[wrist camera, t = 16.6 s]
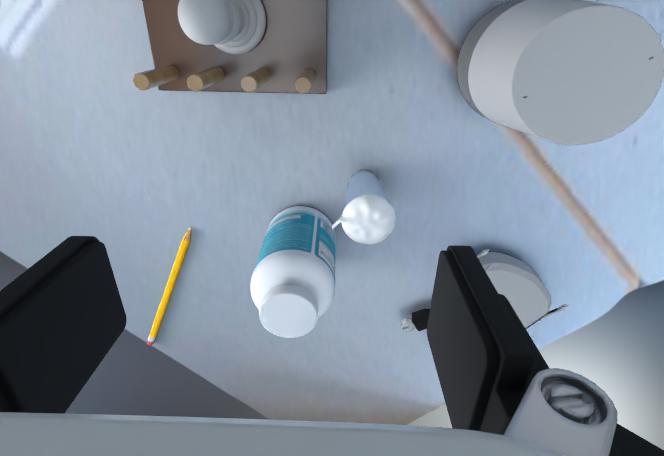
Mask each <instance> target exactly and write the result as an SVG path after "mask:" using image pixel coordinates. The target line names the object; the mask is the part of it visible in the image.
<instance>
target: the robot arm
mask: <svg viewBox="0 0 664 456" xmlns="http://www.w3.org/2000/svg"><path fill="white" fill-rule="evenodd" d="M125 326H126V314H125V311H124V308H123V304H122V301H121V298H120V295H119V291H118V288H117V285H116V281H115V278H114V275H113V271H112V268H111V265H110V261H109V258H108V255H107V251H106V248H105V245H104V244H103V243H102V242H99V240H98V239H97V238H96V237H94V236H71V237H69V238H67V239H66V240H65V241H63V242H62V243H61V244H60V245H58V246H57V247H56V248H54V249H53V250H52V251H51V252H49V253H48V254H47V255H46V256H44V257H43V258H42V259H40V260H39V261H38V262H37V263H35V264H34V265H33V266H32V267H30V268H29V269H28V270H27V271H25V272H24V273H23V274H21V275H20V276H19V277H18V278H16V279H15V280H14V281H12V282H11V283H10V284H9V285H7V286H6V287H5V288H4V289H2V290H1V291H0V456H664V450H662V449H660V448H658V447H657V446H655V445H653V444H652V443H650V442H648V441H646V440H645V439H643V438H641V437H640V436H638V435H636V434H634V433H633V432H631V431H629V430H627V429H626V428H624V427H622V426H620V425H619V424H617V410H616V408H615V406H614V404H613V402H612V400H611V399H610V398H609V397H608V395H607V394H606V393H605V392H604V391H603V390H602V389H601V388H600V387H598V386H597V385H596V384H595V383H594V382H592V381H590V380H588V379H587V378H585V377H583V376H582V375H579V374H577V373H574V372H571V371H568V370H563V369H557V368H556V369H555V368H554V369H549V367H548V365H547V364H546V362H545V360H544V359H543V357H542V355H541V354H540V352H539V350H538V349H537V347H536V346H535V344H534V342H533V341H532V339H531V337H530V336H529V334H528V332H527V331H526V329H525V327H524V326H523V324H522V322H521V321H520V319H519V317H518V316H517V314H516V312H515V311H514V309H513V307H512V306H511V304H510V302H509V301H508V299H507V298H506V297H505V295H502V294H498V292H497V290H496V289H495V287H494V285H493V284H492V282H491V280H490V278H489V277H488V275H487V273H486V271H485V270H484V268H483V266H482V265H481V263H480V261H479V259H478V258H477V256H476V254H475V253H474V251H473V249H472V248H471V247H470V246H448V248H447V251H441V252H440V255H439V261H438V266H437V272H436V278H435V284H434V289H433V295H432V301H431V307H430V312H429V318H428V324H427V336H428V341H429V344H430V348H431V351H432V355H433V359H434V362H435V366H436V370H437V373H438V377H439V381H440V384H441V388H442V391H443V395H444V399H445V402H446V406H447V410H448V413H449V416H450V421H451V424H452V428H442V427H426V426H409V425H390V424H371V423H346V422H318V421H291V420H263V419H231V418H200V417H167V416H134V415H96V414H64V413H65V412H66V410H67V409H68V408H69V406H70V405H71V403H72V402H73V401H74V399H75V398H76V396H77V395H78V393H79V392H80V391H81V389H82V388H83V386H84V385H85V384H86V382H87V381H88V379H89V378H90V376H91V375H92V374H93V372H94V371H95V370H96V368H97V367H98V365H99V364H100V362H101V361H102V360H103V358H104V357H105V355H106V354H107V353H108V351H109V350H110V348H111V347H112V346H113V344H114V343H115V341H116V340H117V338H118V337H119V336H120V334H121V333H122V332H123V330H124V328H125Z"/></svg>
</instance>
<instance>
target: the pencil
mask: <svg viewBox="0 0 664 456" xmlns="http://www.w3.org/2000/svg"><path fill="white" fill-rule="evenodd" d="M190 235H191V227H190V228H189V229H188V231H187V232H186V234H185V235H184V237H183V239H182V242H181V245H180V248H179V251H178V254H177V256H176V259H175V262H174V265H173V268H172V271H171V274H170V277H169V280H168V282H167V285H166V288H165V291H164V294H163V297H162V300H161V303H160V306H159V308H158V311H157V314H156V317H155V320H154V323H153V326H152V329H151V332H150V334H149V337H148V340H147V345H152V344H153V343H154V340H155V337H156V334H157V331H158V329H159V326H160V323H161V320H162V317H163V315H164V312H165V309H166V306H167V303H168V301H169V298H170V295H171V292H172V289H173V287H174V284H175V281H176V278H177V275H178V273H179V270H180V267H181V264H182V261H183V259H184V256H185V253H186V250H187V247H188V245H189V242H190Z"/></svg>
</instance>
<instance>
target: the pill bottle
mask: <svg viewBox="0 0 664 456" xmlns="http://www.w3.org/2000/svg"><path fill="white" fill-rule="evenodd" d="M331 229H332V224H331V222H330V221H329V219H328V218H327V217H326V216H325V215H324V214H322V213H321V212H319V211H318V210H316V209H313V208H310V207H305V206H296V207H291V208H288V209H285V210H283V211H281V212H280V213H278V214H277V215H276V216H275V217H274V218H273V220H272V221H271V223H270V225H269V227H268V230H267V233H266V236H265V239H264V242H263V245H262V248H261V251H260V254H259V257H258V260H257V263H256V266H255V269H254V272H253V275H252V279H251V285H250V290H251V295H252V299H253V301H254V303H255V305H256V306H257V308H258V309H259V318H260V321H261V323H262V325H263V326H264V327H265V328H266V329H267V330H268V331H269V332H271V333H272V334H274V335H277V336H280V337H284V338H296V337H300V336H303V335H305V334H307V333H308V332H310V331H311V330H312V329H313V328H314V326H315V324H316V322H317V319H318V318H319V317H321V316H322V315H323V314H324V313H325V312H326V311H327V310H328V309H329V307H330V306H331V304H332V301H333V298H334V294H335V243H336V241H335V231H334V229H333V230H331Z"/></svg>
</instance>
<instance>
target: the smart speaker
mask: <svg viewBox="0 0 664 456" xmlns="http://www.w3.org/2000/svg"><path fill="white" fill-rule="evenodd" d="M663 74H664V51H663V47H662V44H661V41H660V39H659V37H658V35H657V33H656V31H655V30H654V29H653V27H652V26H651V25H650V24H649V23H648V22H647V21H646V20H645V19H644V18H642V17H641V16H639V15H638V14H636V13H634V12H632V11H630V10H627V9H624V8H621V7H616V6H611V5H605V4H599V3H593V2H587V1H581V0H510V1H508V2H505V3H503V4H501V5H499V6H497V7H496V8H494V9H492V10H491V11H490V12H488V13H487V14H486V15H484V16H483V17H482V18H481V19H480V20H479V21H478V22H477V23H476V24H475V25H474V27H473V28H472V29H471V31H470V32H469V33H468V35H467V37H466V39H465V41H464V43H463V45H462V47H461V50H460V53H459V57H458V63H457V78H458V83H459V87H460V90H461V92H462V95H463V97H464V98H465V100H466V101H467V103H468V104H469V105H470V106H471V107H472V108H473V109H474V110H475V111H476V112H477V113H479V114H480V115H482V116H483V117H485V118H487V119H489V120H491V121H493V122H495V123H497V124H500V125H503V126H506V127H509V128H512V129H515V130H517V131H520V132H523V133H526V134H529V135H532V136H535V137H538V138H541V139H543V140H546V141H549V142H553V143H557V144H563V145H584V144H590V143H595V142H598V141H602V140H604V139H607V138H610V137H612V136H614V135H616V134H618V133H620V132H621V131H623V130H625V129H626V128H628V127H629V126H630V125H632V124H633V123H634V122H635V121H636V120H638V119H639V118H640V117H641V116H642V115H643V113H644V112H645V111H646V110H647V109H648V107H649V106H650V105H651V103H652V102H653V100H654V98H655V96H656V94H657V92H658V90H659V88H660V85H661V82H662V79H663Z"/></svg>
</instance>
